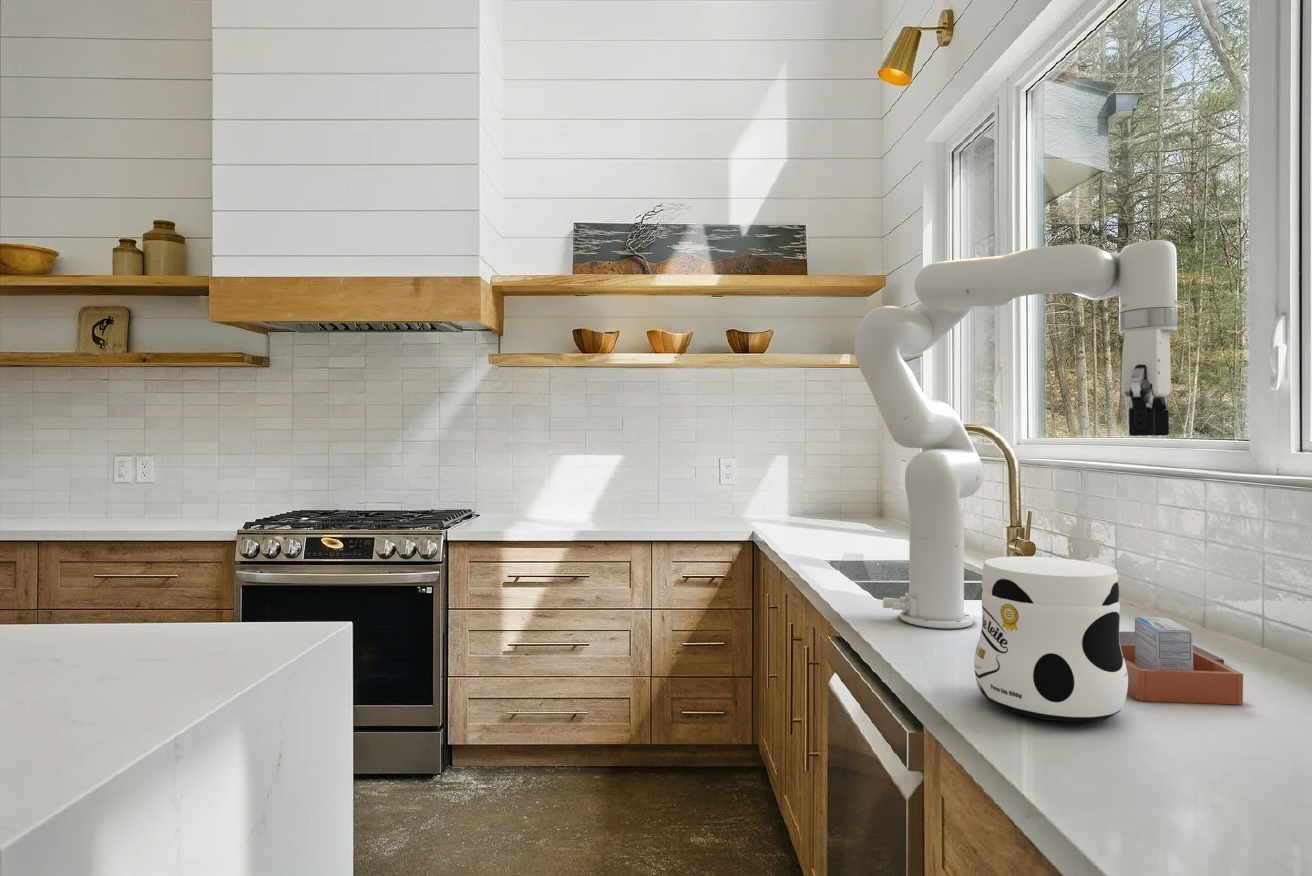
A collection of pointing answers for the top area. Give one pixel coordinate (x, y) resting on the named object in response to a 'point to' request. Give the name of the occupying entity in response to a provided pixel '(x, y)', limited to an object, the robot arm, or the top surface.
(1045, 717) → the milk container
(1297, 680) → the top surface
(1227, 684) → the orange hollow square frame
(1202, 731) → the top surface
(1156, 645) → the medicine box
